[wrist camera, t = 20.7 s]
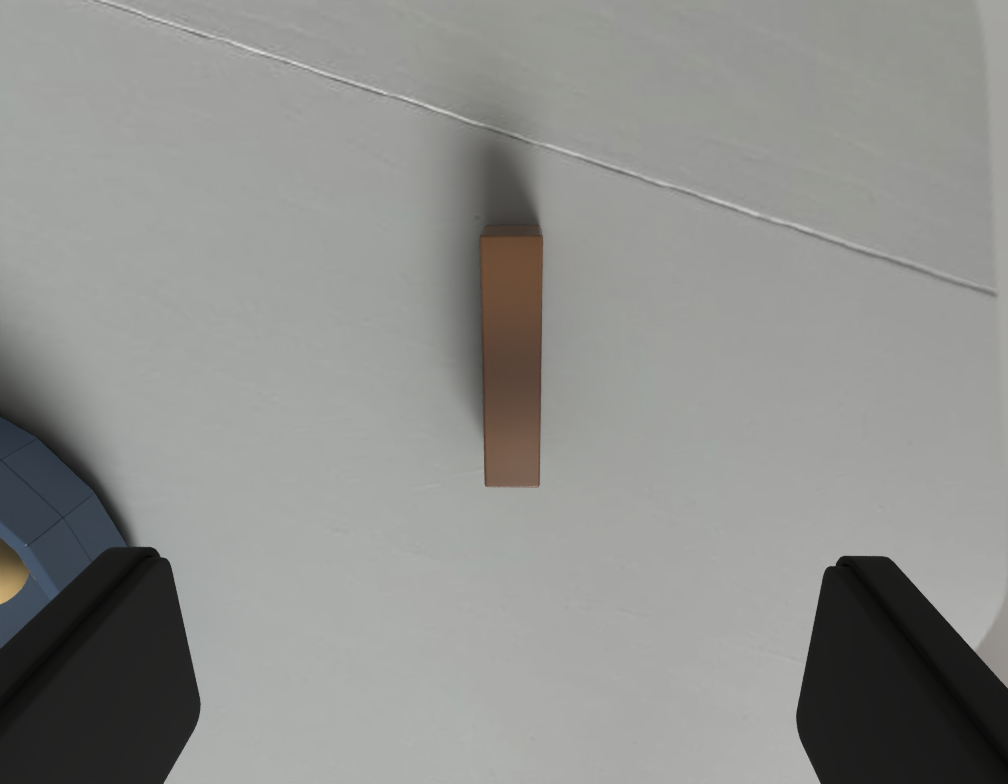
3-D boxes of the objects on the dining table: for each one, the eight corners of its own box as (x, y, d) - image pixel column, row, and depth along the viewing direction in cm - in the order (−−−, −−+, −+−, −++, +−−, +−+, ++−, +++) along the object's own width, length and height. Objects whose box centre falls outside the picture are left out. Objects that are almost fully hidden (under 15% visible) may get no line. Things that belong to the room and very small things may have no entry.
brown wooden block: (485, 224, 23) (479, 235, 20) (540, 224, 23) (543, 234, 20) (488, 452, 26) (484, 488, 24) (537, 452, 26) (539, 488, 23)
